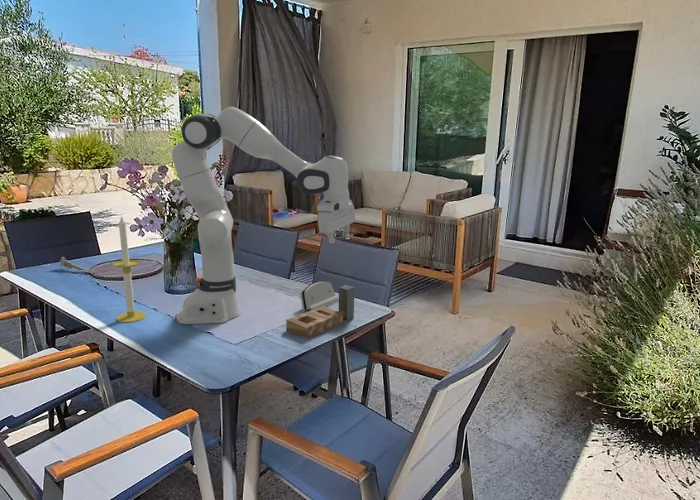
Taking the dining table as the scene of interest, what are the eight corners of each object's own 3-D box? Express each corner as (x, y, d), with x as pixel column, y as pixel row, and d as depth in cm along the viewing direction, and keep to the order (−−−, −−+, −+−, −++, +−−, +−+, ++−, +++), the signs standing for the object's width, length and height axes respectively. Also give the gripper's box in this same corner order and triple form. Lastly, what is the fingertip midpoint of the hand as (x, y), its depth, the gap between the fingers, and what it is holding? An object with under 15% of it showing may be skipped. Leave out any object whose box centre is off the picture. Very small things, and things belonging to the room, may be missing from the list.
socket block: (307, 338, 161) (307, 327, 160) (286, 330, 167) (286, 319, 166) (342, 323, 174) (342, 312, 173) (322, 316, 180) (322, 306, 179)
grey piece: (311, 313, 183) (305, 287, 183) (303, 314, 186) (296, 289, 186) (339, 301, 196) (333, 277, 196) (331, 302, 199) (325, 279, 199)
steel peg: (346, 321, 176) (347, 289, 173) (338, 318, 179) (338, 287, 176) (353, 317, 179) (354, 287, 176) (345, 315, 182) (346, 284, 179)
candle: (131, 324, 169) (121, 218, 160) (109, 320, 173) (98, 216, 164) (152, 314, 179) (143, 214, 169) (130, 310, 182) (121, 211, 173)
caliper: (60, 269, 231) (59, 257, 230) (62, 269, 232) (61, 256, 231) (92, 275, 224) (91, 262, 223) (94, 274, 225) (93, 261, 224)
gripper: (343, 196, 182) (345, 232, 186) (313, 206, 165) (316, 246, 169) (358, 197, 179) (359, 233, 183) (329, 208, 162) (332, 247, 166)
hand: (338, 239), depth 176 cm, fingers open, 8 cm apart
